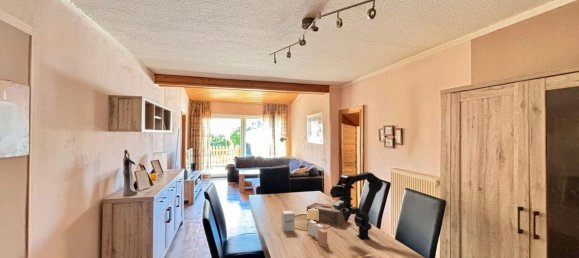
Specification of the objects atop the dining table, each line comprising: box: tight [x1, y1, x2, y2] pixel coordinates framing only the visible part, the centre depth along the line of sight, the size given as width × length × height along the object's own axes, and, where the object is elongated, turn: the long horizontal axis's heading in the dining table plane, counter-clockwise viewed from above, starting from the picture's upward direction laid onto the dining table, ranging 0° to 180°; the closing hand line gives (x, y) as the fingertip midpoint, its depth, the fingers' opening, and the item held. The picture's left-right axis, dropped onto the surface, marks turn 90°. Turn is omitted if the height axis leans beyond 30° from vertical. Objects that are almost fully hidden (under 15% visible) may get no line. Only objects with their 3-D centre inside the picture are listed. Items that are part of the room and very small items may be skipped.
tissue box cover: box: [306, 202, 345, 227], centre depth 203 cm, size 26×14×10 cm, turn 57°
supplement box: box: [281, 210, 295, 232], centre depth 180 cm, size 7×7×13 cm
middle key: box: [314, 223, 325, 241], centre depth 163 cm, size 3×5×8 cm, turn 28°
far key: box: [307, 220, 318, 237], centre depth 170 cm, size 3×5×8 cm, turn 28°
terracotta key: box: [317, 228, 328, 248], centre depth 154 cm, size 3×5×8 cm, turn 28°
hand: (346, 221), depth 163 cm, fingers closed
